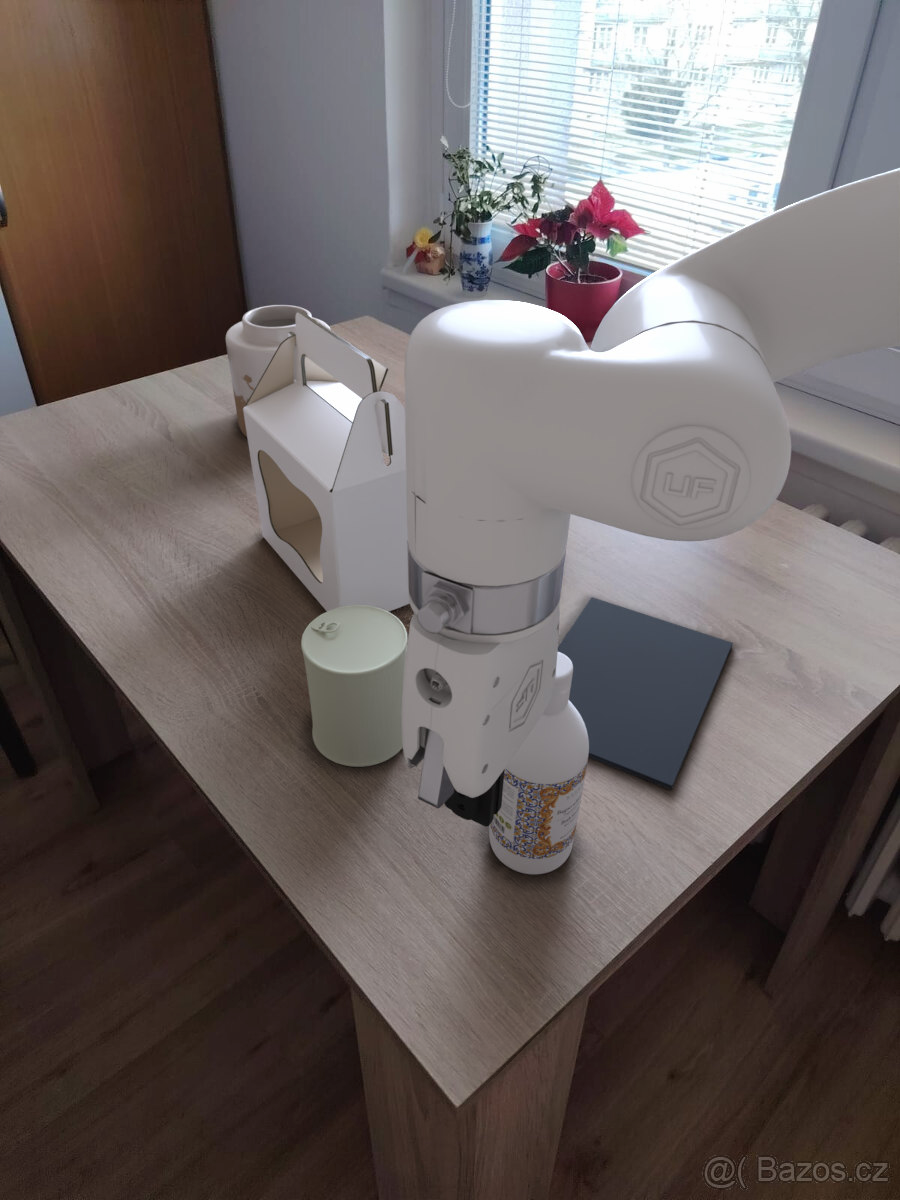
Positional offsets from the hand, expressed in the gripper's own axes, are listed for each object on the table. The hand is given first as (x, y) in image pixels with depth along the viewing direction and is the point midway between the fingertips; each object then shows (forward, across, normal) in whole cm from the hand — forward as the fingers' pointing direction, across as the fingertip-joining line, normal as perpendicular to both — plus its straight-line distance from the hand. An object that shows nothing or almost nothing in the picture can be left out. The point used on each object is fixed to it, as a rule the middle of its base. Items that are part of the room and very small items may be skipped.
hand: (472, 808), depth 51 cm
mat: (+16, +33, 0) cm, 36 cm away
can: (+16, +14, +19) cm, 28 cm away
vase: (+16, +60, +66) cm, 91 cm away
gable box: (+16, +35, +36) cm, 53 cm away
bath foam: (+16, +11, 0) cm, 19 cm away
